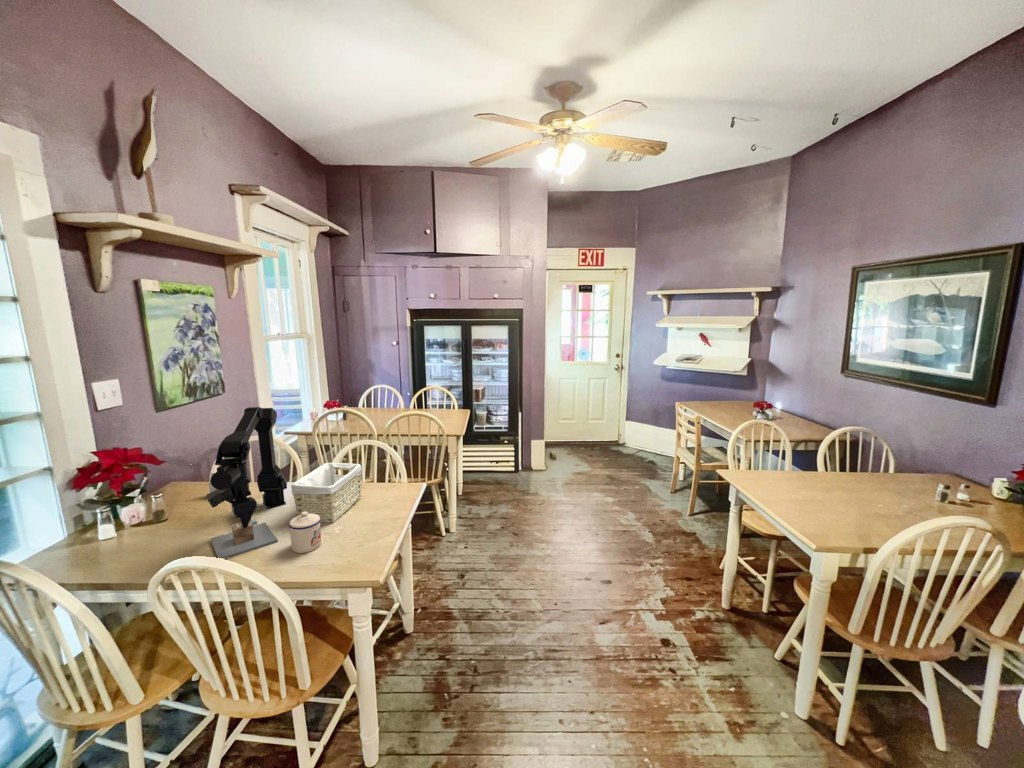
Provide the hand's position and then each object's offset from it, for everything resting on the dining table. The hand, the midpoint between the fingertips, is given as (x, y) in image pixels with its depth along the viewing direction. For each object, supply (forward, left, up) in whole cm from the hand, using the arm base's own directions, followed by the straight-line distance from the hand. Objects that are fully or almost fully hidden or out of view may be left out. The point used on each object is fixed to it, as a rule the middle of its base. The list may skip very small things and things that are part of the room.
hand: (241, 522), depth 134 cm
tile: (0, 0, -7) cm, 7 cm away
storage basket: (-30, -5, -7) cm, 31 cm away
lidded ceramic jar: (-15, +16, -7) cm, 23 cm away
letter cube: (0, 0, -6) cm, 6 cm away
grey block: (-1, -47, -7) cm, 48 cm away
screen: (-4, -17, -7) cm, 19 cm away
